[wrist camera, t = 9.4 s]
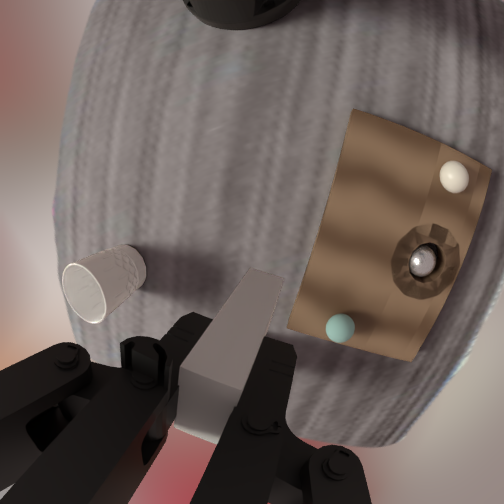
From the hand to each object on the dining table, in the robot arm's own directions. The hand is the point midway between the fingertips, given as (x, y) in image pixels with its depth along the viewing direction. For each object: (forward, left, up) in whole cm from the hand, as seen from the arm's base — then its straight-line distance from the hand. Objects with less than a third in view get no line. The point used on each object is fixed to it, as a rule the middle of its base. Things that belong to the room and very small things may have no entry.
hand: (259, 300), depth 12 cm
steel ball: (0, +14, -19) cm, 24 cm away
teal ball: (+10, +8, -16) cm, 20 cm away
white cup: (+14, -21, -21) cm, 32 cm away
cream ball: (-9, +14, -16) cm, 23 cm away
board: (0, +11, -20) cm, 23 cm away
